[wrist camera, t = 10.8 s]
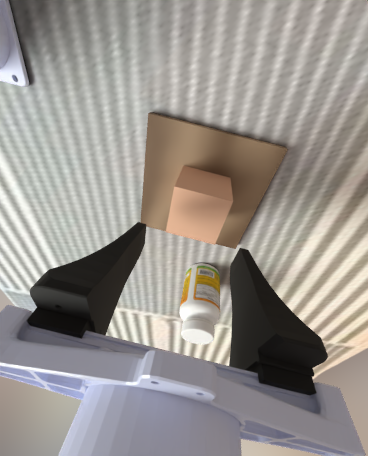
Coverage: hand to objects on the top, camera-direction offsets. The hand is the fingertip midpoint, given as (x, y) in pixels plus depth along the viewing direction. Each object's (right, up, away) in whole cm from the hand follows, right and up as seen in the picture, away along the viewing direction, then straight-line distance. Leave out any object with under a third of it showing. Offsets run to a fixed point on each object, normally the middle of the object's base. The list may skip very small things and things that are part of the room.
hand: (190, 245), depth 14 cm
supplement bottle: (+3, -6, +16) cm, 17 cm away
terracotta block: (+1, +5, +7) cm, 9 cm away
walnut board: (+1, +6, +7) cm, 9 cm away
